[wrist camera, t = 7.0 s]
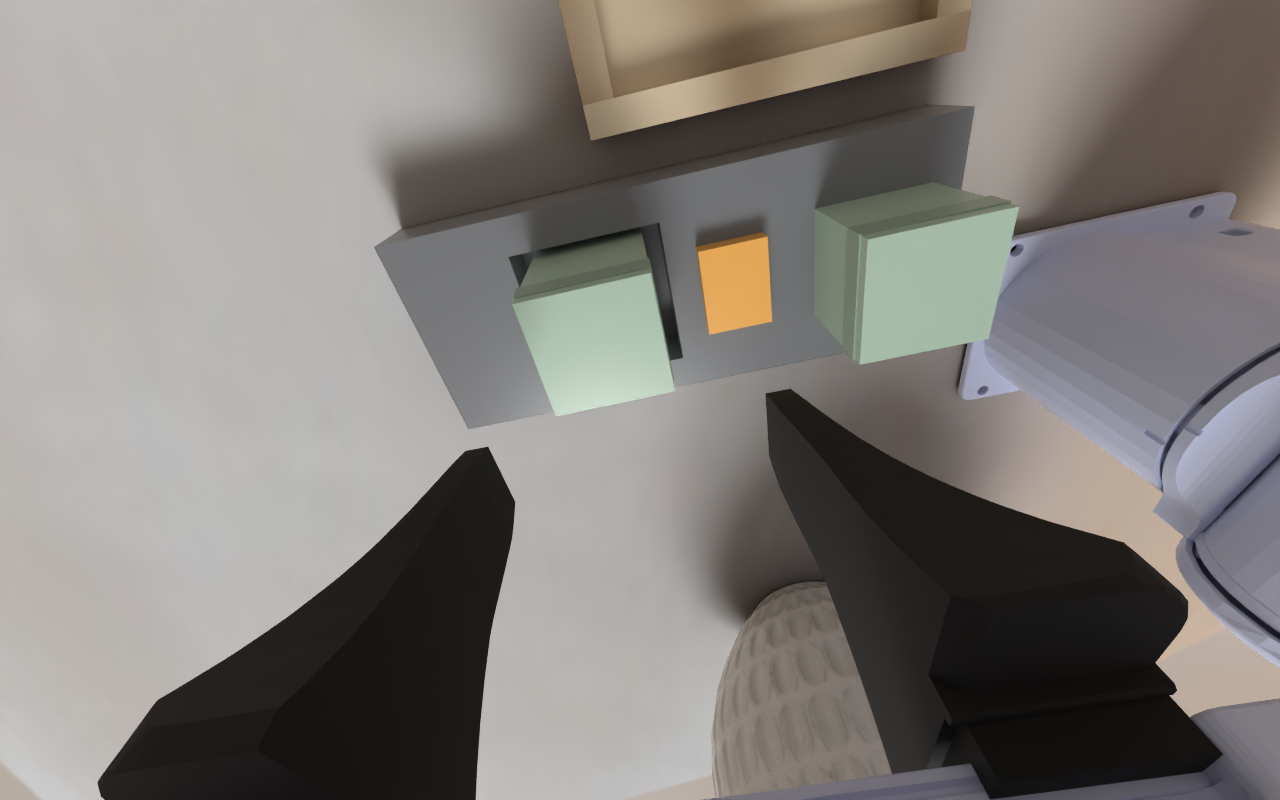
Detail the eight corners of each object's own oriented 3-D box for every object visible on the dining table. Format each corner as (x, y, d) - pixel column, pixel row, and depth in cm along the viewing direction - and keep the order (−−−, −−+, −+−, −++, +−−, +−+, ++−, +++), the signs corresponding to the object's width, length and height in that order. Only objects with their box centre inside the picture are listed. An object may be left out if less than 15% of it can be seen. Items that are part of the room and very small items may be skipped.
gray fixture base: (929, 104, 17) (1081, 110, 11) (905, 309, 21) (1006, 385, 16) (401, 228, 18) (312, 288, 13) (481, 397, 22) (440, 495, 17)
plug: (640, 220, 18) (652, 270, 13) (660, 317, 20) (676, 392, 15) (537, 244, 18) (510, 303, 13) (568, 337, 20) (554, 417, 15)
